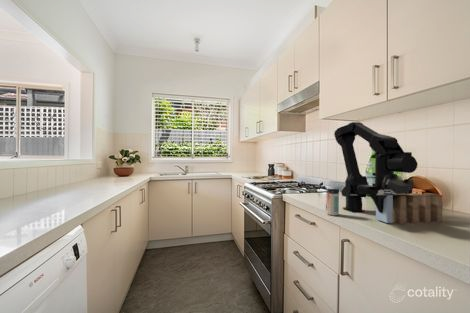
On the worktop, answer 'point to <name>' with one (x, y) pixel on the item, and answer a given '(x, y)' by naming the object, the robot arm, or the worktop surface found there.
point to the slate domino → (386, 209)
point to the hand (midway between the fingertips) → (383, 212)
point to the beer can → (332, 200)
